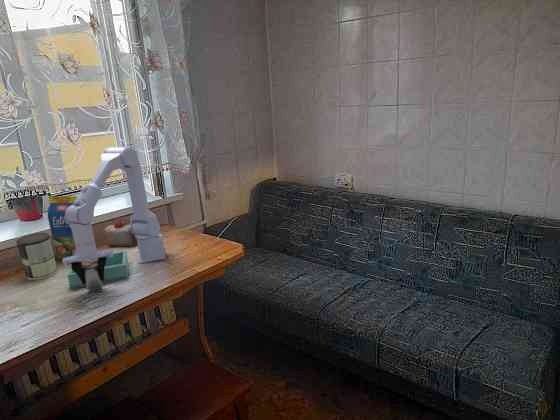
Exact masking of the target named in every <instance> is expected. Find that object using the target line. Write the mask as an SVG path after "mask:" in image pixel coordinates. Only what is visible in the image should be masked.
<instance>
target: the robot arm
mask: <svg viewBox="0 0 560 420" xmlns="http://www.w3.org/2000/svg"><path fill="white" fill-rule="evenodd" d="M100 160H101V161H100V164H98V165H99V166H98V167H97V169H96V171H95V173H94V175H93V178H92V179H91V182H90V183H87V184H85V185H84V186H82V187H81V188H80V193H79V194H78V195H77V196H76V198H77V199H76V200H75V201H74V204H73V205H71V206H69V207H68V208H67V209H66V211H65V216H64V219H65V220H66V222H68V223H69V225H70V228H71V229H72V233H73V237H74V242H75V246H76V250H77V255H74V256H71V257H67V258H63V259H61V260H62V265H63V267H66V266H68V265H70V267H71V268H72V270H73V271H74V272H75V273H76V274H77V275H78V276H79V278H80V279H81V281H82V284H85V280H84V275H83V271H82V262H86V261H90V260H96V259H98V266H99V270H100V275H101V280H102V281H103V280H104V268H105V264H106V259H107V257H109V258H111V257H113V253H114V252H113V249H108V250H107V249H106V250H98V249H97V245H96V240H95V235H94V232H93V226H92V220H93V219H94V216H95V214H94V213H95V207H96V206H97V204H98V202H99V200H100V199H101V197H102V195H103V193H102V188H103V186H104V184H105V183H106V182H107V181H108V179H109V177H110V176H111V175H112V173H113V171H116V170H119V169H120V170H122V171H124V172H125V176H126V180H127V181H126V182H127V185H128V191H129V196H130V201H131V206H132V211H133V214H131V216H129V220H130V224H129V225H130V230H131V232H132V234H134V235H135V237H136V238H137V243H138V244H137V246H138V252H139V254H138V257H139V258H138V260H139V261H138V262H139V264H144V263H148V262H154V261H160V260H166V258H167V257H166V247H165V246H164V244H165V243H164V239H163V234H162V233H160V230H161V224H160V222H159V221H158V218H157V215H156V214H155V213H154V212H152V211H151V210H150V208H149V203H148V197H147V193H146V192H147V191H146V187H145V186H146V185H145V183H144V182H145V181H144V177H143V176H144V175H143V172H142V171H143V170H142V166H141V163H140V160H139V156H138V151H137V150H136V149H135V148H133V147H131V146H125V147H123V146H121V147H116V146H115V147H113V146H107V147H106V148H104V150H103V152H102V154H101V155H100Z"/></svg>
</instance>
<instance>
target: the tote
mask: <svg viewBox="0 0 560 420" xmlns="http://www.w3.org/2000/svg"><path fill="white" fill-rule="evenodd" d="M67 278H68V282H69V288H70V289H71V290H73V289H79V288H83V287H86V284H82V281H81V279H80V278H79V276H78V275H77V274H76V273H75V272H74V271H73V270H72V268H71V266H70V268H69V270H68V274H67ZM128 278H129V259H128V253H127V250H122V251H117V252H113V257H111V258H109V257H107V259H106V264H105V268H104V280H103V281H102V282H103V284H104V283H109V282H110V283H111V282H115V281H121V280H125V279H128Z"/></svg>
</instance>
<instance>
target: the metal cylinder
mask: <svg viewBox="0 0 560 420" xmlns="http://www.w3.org/2000/svg"><path fill="white" fill-rule="evenodd" d="M82 271H83V275H84V280H85V284H86V286H85V287H86V290H88V291H94V290H98V289H100V288H102V287H103V286H104V283H103V282H102V280H101V275H100V270H99V266H98V264H89V265H86V266H84V267H83V268H82Z"/></svg>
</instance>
